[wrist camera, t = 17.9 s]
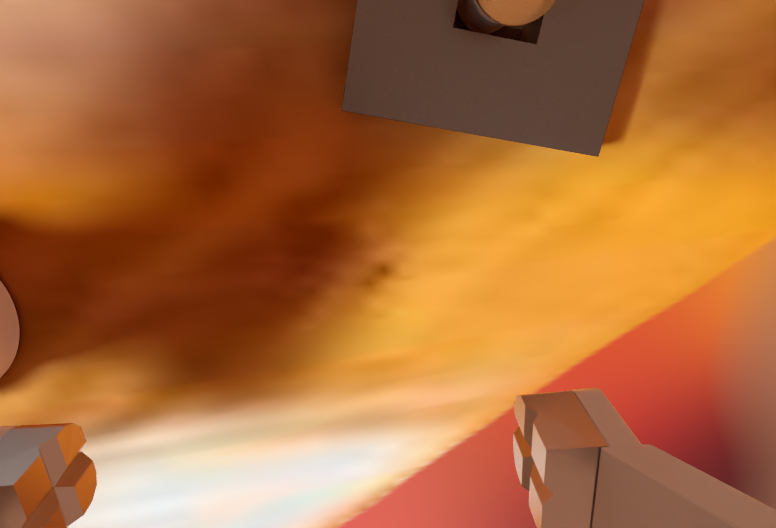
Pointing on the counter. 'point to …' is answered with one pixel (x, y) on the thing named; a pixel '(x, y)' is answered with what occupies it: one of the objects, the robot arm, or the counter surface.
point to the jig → (493, 70)
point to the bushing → (500, 13)
